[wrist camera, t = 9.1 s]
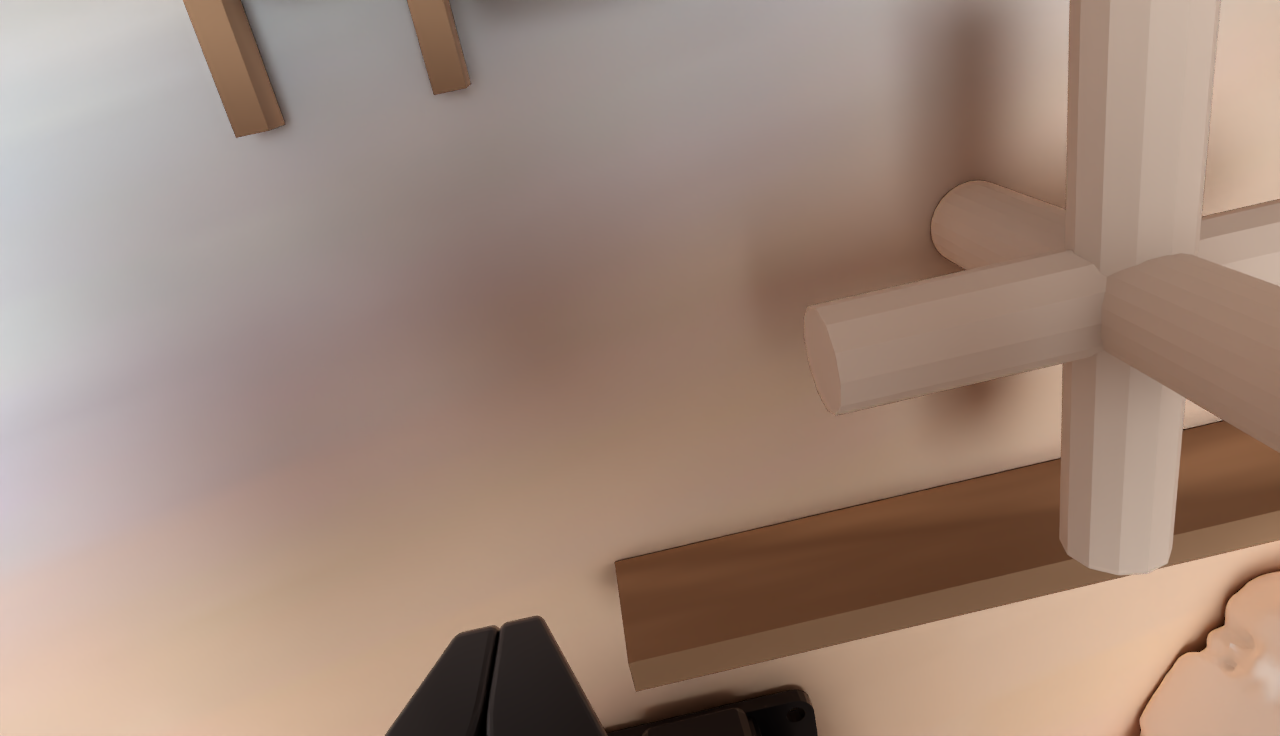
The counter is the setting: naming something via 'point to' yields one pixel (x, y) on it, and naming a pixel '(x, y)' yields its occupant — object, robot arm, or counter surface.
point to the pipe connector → (1094, 288)
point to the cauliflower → (1226, 674)
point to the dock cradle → (840, 540)
